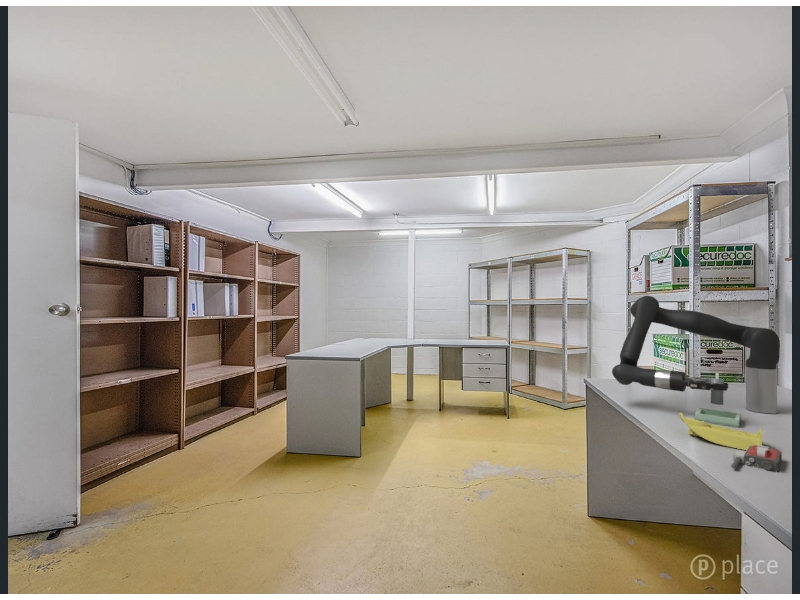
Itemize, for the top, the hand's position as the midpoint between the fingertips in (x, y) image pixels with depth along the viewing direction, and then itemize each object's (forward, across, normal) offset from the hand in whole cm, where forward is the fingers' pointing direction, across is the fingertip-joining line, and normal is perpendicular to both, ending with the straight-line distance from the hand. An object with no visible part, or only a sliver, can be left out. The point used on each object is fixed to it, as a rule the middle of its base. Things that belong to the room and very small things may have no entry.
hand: (727, 386), depth 141 cm
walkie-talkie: (+9, -44, +13) cm, 47 cm away
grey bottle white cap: (-3, 0, +6) cm, 7 cm away
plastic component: (0, -27, +13) cm, 30 cm away
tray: (-3, 0, +13) cm, 13 cm away
